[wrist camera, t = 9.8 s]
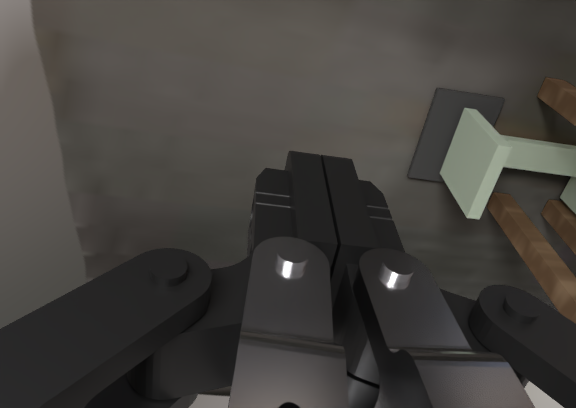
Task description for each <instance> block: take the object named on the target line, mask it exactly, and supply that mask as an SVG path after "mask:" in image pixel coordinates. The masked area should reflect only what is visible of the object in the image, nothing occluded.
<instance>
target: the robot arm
mask: <svg viewBox="0 0 576 408" xmlns="http://www.w3.org/2000/svg"><path fill="white" fill-rule="evenodd" d="M529 381H530V382H532V383H533V384H534V385H536V386H537V387H538V388H540V389H541V390H542V391H543V392H545V393H546V394H547V395H549V396H550V397H551V398H552V399H554V400H555V401H557V402H558V403H559V404H560V405H562V406H563V407H564V408H576V323H574V322H573V321H571V320H569V319H568V318H566V317H565V316H563V315H562V314H560V313H559V312H557V311H556V310H554V309H553V308H551V307H550V306H548V305H547V304H545V303H544V302H542V301H541V300H539V299H537V298H536V297H534V296H533V295H531V294H529V293H527V292H525V291H523V290H520V289H517V288H514V287H511V286H505V285H492V286H488V287H486V288H484V289H483V290H482V291H481V293H480V295H479V297H478V299H477V301H474V300H471V299H468V298H465V297H462V296H459V295H456V294H453V293H450V292H447V291H445V290H442V289H440V288H439V287H438V285H437V283H436V281H435V280H434V278H433V276H432V274H431V272H430V271H429V269H428V268H427V267H426V266H425V265H424V264H423V263H422V262H421V261H419V260H418V259H416V258H415V257H413V256H411V255H409V254H407V253H405V251H404V248H403V245H402V243H401V240H400V237H399V235H398V232H397V230H396V227H395V224H394V222H393V221H392V216H391V214H390V211H389V210H388V206H387V203H386V200H385V198H384V195H383V193H382V192H381V191H379V190H378V189H377V188H376V187H375V186H374V185H373V184H372V183H371V182H370V181H362V180H358V177H357V174H356V170H355V167H354V164H353V161H352V159H348V158H341V157H333V156H326V155H321V156H320V155H318V154H310V153H303V152H295V151H289V153H288V156H287V161H286V166H285V170H277V169H270V168H265V169H264V170H263V172H262V173H261V174H260V175H259V176H258V177H257V178H256V184H255V191H254V198H253V204H252V211H251V217H250V224H249V230H248V248H247V258H246V259H244V260H243V261H241V262H240V263H237V264H235V265H232V266H229V267H225V268H219V269H211V270H210V268H209V266H208V264H207V263H206V262H205V261H204V260H203V259H201V258H200V257H199V256H197V255H195V254H193V253H191V252H188V251H185V250H181V249H174V248H163V249H155V250H151V251H148V252H145V253H142V254H140V255H138V256H136V257H134V258H133V259H131V260H129V261H127V262H125V263H123V264H121V265H119V266H118V267H116V268H114V269H112V270H110V271H108V272H106V273H104V274H103V275H101V276H99V277H97V278H95V279H93V280H91V281H89V282H88V283H86V284H84V285H82V286H80V287H78V288H76V289H74V290H72V291H71V292H69V293H67V294H65V295H63V296H61V297H59V298H58V299H56V300H54V301H52V302H50V303H48V304H46V305H45V306H43V307H41V308H39V309H37V310H35V311H33V312H31V313H29V314H28V315H25V316H24V317H22V318H20V319H18V320H16V321H14V322H12V323H10V324H9V325H7V326H5V327H3V328H1V329H0V408H188V407H189V406H190V405H191V404H192V403H193V401H194V400H195V399H196V397H197V395H198V393H201V392H205V391H210V390H214V389H219V388H223V387H227V386H231V392H230V398H229V405H228V408H535V407H534V405H533V403H532V402H531V400H530V398H529V396H528V395H527V393H526V391H525V390H524V388H525V386H526V384H527V383H528V382H529Z"/></svg>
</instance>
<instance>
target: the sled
mask: <svg viewBox="0 0 576 408" xmlns="http://www.w3.org/2000/svg"><path fill="white" fill-rule="evenodd" d="M503 167H507V168H515V169H522V170H529V171H536V172H544V173H551V174H558V175H565V176H571V178H570V180H569V182H568V183H567V185H566V187H565V189H564V191H563V193H562V194H561V196H560V198H561V199H562V200H563V201H564V202H565V203H566V204H567V205H568V207H569V208H570V209H571V210H572V211H573V212H574V213H575V214H576V146H573V145H566V144H559V143H553V142H546V141H539V140H532V139H525V138H519V137H512V136H505V135H500V134H499V133H498V132H497V131H496V130H495V129H494V128H493V127H492V126H491V124H490V123H489V122H488V121H487V120H486V119H485V118H484V117H483V116H482V115H481V114H480V113H479V112H478V111H477V110H476V109H470V108H464V110H463V113H462V116H461V118H460V121H459V124H458V126H457V129H456V131H455V134H454V137H453V139H452V142H451V145H450V147H449V150H448V153H447V155H446V158H445V160H444V163H443V166H442V168H441V171H440V174H441V176H442V178H443V179H444V181H445V183H446V184H447V186H448V188H449V189H450V191H451V193H452V194H453V196H454V198H455V199H456V201H457V203H458V204H459V206H460V208H461V209H462V211H463V213H464V214H465V216H466V217H467V218H472V219H480V217H481V215H482V212H483V210H484V208H485V206H486V204H487V201H488V199H489V197H490V195H491V193H492V190H493V188H494V186H495V184H496V182H497V179H498V177H499V175H500V173H501V171H502V168H503Z"/></svg>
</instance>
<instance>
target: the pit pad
mask: <svg viewBox="0 0 576 408" xmlns="http://www.w3.org/2000/svg"><path fill="white" fill-rule="evenodd" d="M504 101H505V99H503V98H500V97H493V96H487V95H481V94H474V93H468V92H461V91H455V90H449V89H442V88H436V91H435V94H434V97H433V100H432V103H431V106H430V109H429V112H428V115H427V118H426V121H425V124H424V127H423V130H422V133H421V136H420V139H419V142H418V145H417V147H416V150H415V153H414V156H413V159H412V162H411V165H410V168H409V171H408V174H407V176H408V177H409V178H417V179H425V180H432V181H440V182H445V181H444V179H443V178H442V176H441V174H440V171H441V168H442V166H443V163H444V160H445V158H446V155H447V153H448V150H449V147H450V145H451V142H452V139H453V137H454V134H455V131H456V129H457V126H458V124H459V121H460V118H461V116H462V113H463V110H464V108H470V109H476V110H477V111H478V112H479V113H480V114H481V115H482V116H483V117H484V118H485V119H486V120H487V121H488V122H489V123H490V124H491V126H492V127H494V125H495V122H496V120H497V117H498V115H499V113H500V110H501V108H502V106H503V103H504Z"/></svg>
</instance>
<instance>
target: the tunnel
mask: <svg viewBox="0 0 576 408" xmlns="http://www.w3.org/2000/svg"><path fill="white" fill-rule="evenodd" d="M537 97H538V98H540V99H541V100H542V101H544V102H545V103H546V104H547V105H549V106H550V107H551V108H553V109H554V110H555V111H556V112H558V113H559V114H560V115H562V116H563V117H564V118H566V119H567V120H568V121H569V122H571V123H572V124H573V125H575V126H576V87H574V86H573V85H571V84H569V83H568V82H566V81H565V80H560V79H554V78H548V77H546V78H545V80H544V82H543V84H542V86H541V89H540V91H539V93H538V95H537ZM487 208H488V209H489V211H490V212H491V214H492V215H493V217H494V218H495V220H496V221H497V223H498V224H499V225H500V227H501V228H502V230H503V231H504V233H505V234H506V236H507V237H508V239H509V240H510V241H511V243H512V244H513V246H514V247H515V249H516V250H517V252H518V253H519V255H520V256H521V257H522V259H523V260H524V262H525V263H526V265H527V266H528V268H529V269H530V270H531V272H532V273H533V275H534V276H535V278H536V279H537V281H538V282H539V284H540V285H541V286H542V288H543V289H544V291H545V292H546V294H547V295H548V297H549V298H550V300H551V301H552V302H553V304H554V305H555V307H556V308H557V310H558V311H559V313H560V314H562V315H563V316H565V317H566V318H568V319H569V320H571V321H573V322H574V323H576V277H575V276H574V275H573V273H572V272H571V271H570V269H569V268H568V267H567V266H566V264H565V263H564V262H563V261H562V259H561V258H560V257H559V256H558V254H557V253H556V252H555V251H554V249H553V248H552V247H551V245H550V244H549V243H548V242H547V240H546V239H545V238H544V237H543V235H542V234H541V233H540V232H539V230H538V229H537V228H536V227H535V225H534V224H533V223H532V222H531V220H530V219H529V218H528V216H527V215H526V214H525V213H524V211H523V210H522V209H521V208H520V206H519V205H518V204H517V203H516V201H515V200H514V199H513V198H512V196H511V195H510V194H504V193H497V192H493V194H492V196H491V198H490V201H489V203H488V205H487ZM541 214H542V216H543V217H544V218H545V219H546V220H547V222H548V223H549V224H550V225H551V226H552V227H553V229H554V230H555V231H556V232H557V233H558V235H559V236H560V237H561V238H562V239H563V241H564V242H565V243H566V244H567V245H568V246H569V248H570V249H571V250H572V251H573V252H574V254H575V255H576V214H575V213H574V212H573V211H572V210H571V209H570V208H569V207H568V205H567V204H566V203H565V202H564V201H557V200H550V199H549V200H548V201H547V203H546V205H545V207H544V209H543V211H542V213H541Z"/></svg>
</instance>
